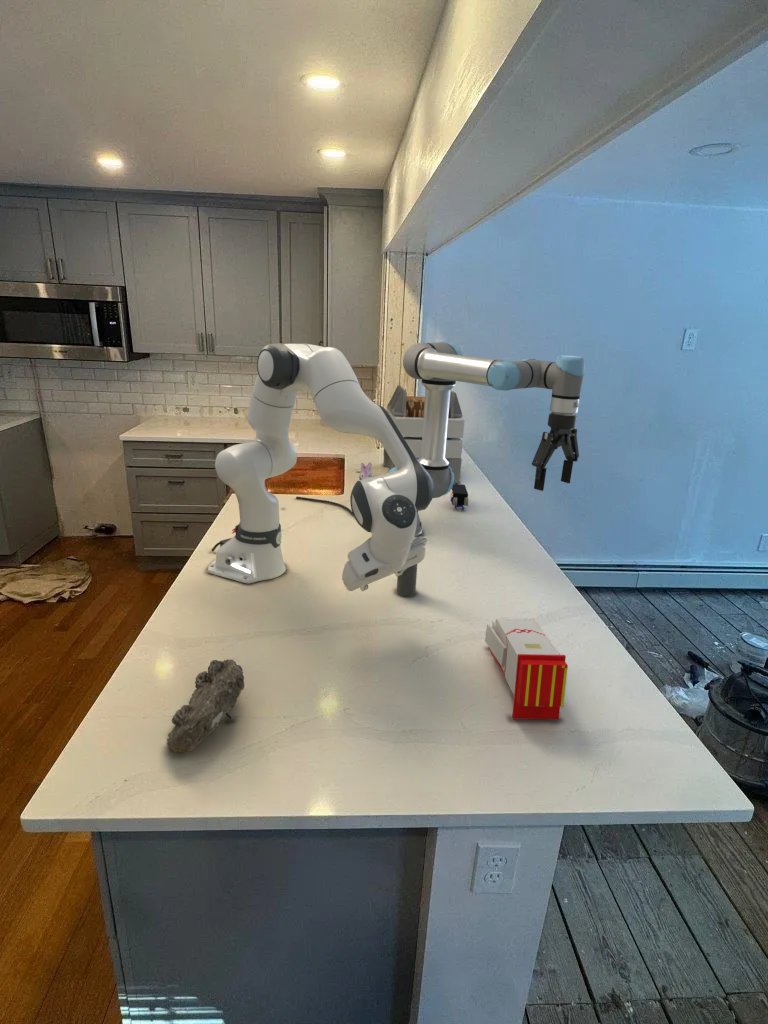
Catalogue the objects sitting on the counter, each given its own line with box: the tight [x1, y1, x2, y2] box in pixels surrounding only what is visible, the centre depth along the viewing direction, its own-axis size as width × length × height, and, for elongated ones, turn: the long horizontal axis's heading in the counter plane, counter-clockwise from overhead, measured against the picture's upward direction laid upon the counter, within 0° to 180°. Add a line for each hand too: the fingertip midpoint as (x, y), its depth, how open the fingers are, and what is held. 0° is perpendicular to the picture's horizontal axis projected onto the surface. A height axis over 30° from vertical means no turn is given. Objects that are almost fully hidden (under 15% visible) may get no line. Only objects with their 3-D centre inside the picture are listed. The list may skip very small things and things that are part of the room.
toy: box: [484, 617, 569, 720], centre depth 122 cm, size 12×13×30 cm
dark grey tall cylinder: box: [396, 564, 418, 598], centre depth 157 cm, size 5×5×15 cm
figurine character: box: [449, 483, 470, 511], centre depth 230 cm, size 7×8×15 cm
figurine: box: [358, 461, 373, 481], centre depth 233 cm, size 9×10×15 cm
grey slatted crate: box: [383, 384, 465, 484], centre depth 268 cm, size 34×33×41 cm
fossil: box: [166, 658, 245, 754], centre depth 106 cm, size 22×10×15 cm
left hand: (380, 580), depth 136 cm, fingers open, 8 cm apart
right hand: (552, 485), depth 166 cm, fingers open, 13 cm apart
